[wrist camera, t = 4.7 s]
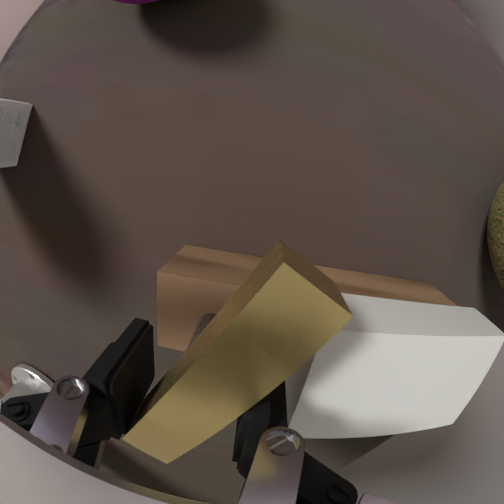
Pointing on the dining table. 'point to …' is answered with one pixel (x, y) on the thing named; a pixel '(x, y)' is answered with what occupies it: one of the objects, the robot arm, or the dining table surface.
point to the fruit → (497, 233)
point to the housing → (231, 278)
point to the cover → (392, 370)
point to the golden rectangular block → (240, 354)
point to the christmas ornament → (136, 1)
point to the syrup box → (12, 130)
